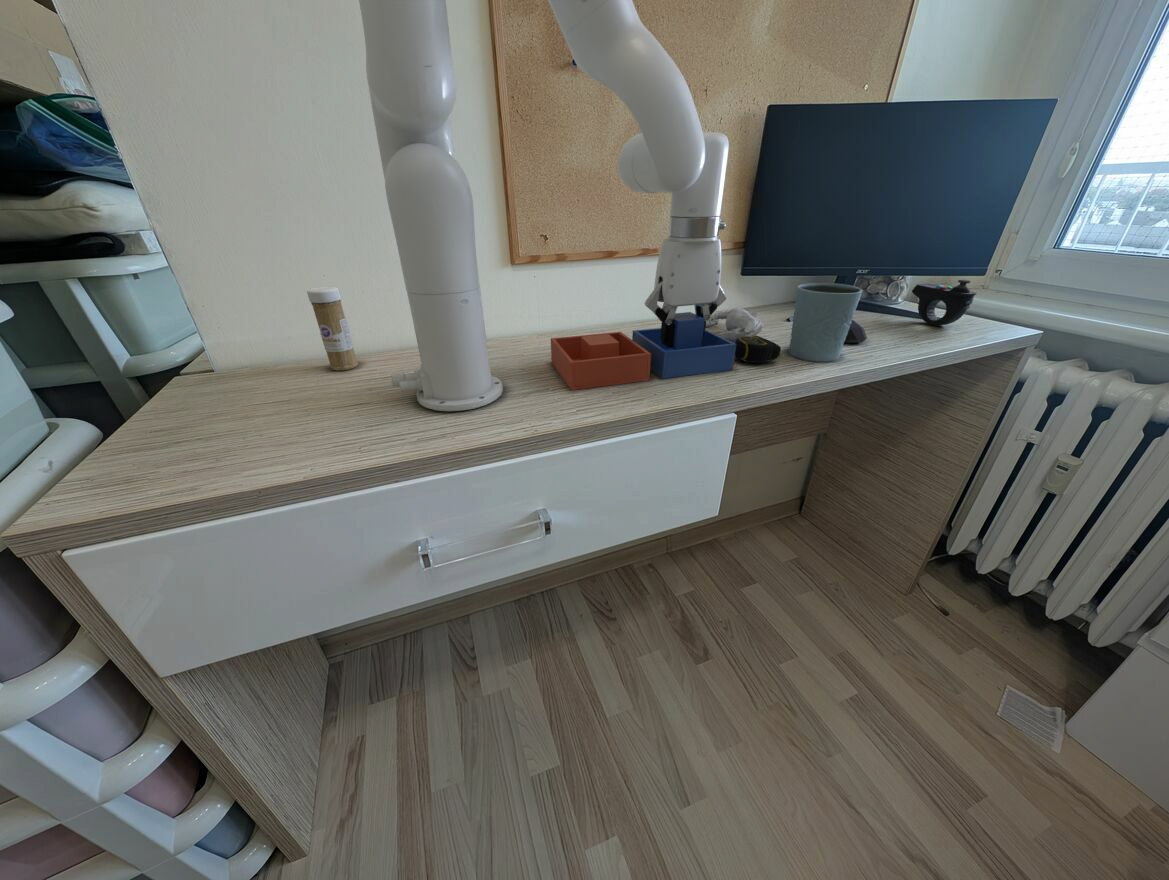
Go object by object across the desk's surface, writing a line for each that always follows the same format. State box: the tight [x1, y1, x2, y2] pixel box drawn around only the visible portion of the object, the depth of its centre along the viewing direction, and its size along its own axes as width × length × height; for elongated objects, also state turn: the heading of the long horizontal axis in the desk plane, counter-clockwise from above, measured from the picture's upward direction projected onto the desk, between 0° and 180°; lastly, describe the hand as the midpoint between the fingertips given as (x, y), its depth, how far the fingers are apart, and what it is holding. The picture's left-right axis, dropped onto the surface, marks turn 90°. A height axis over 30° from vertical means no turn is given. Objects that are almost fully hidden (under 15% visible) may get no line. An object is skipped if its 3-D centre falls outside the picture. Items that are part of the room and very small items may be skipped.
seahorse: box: [706, 307, 764, 343], centre depth 92 cm, size 5×12×20 cm
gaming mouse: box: [844, 319, 868, 344], centre depth 91 cm, size 6×15×4 cm, turn 17°
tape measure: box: [734, 335, 782, 364], centre depth 78 cm, size 7×7×4 cm
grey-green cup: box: [788, 282, 863, 363], centre depth 78 cm, size 10×10×12 cm
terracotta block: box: [581, 334, 619, 360], centre depth 73 cm, size 5×5×5 cm
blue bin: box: [631, 327, 736, 380], centre depth 77 cm, size 13×13×4 cm
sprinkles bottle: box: [306, 285, 359, 371], centre depth 74 cm, size 5×5×13 cm
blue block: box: [671, 311, 705, 350], centre depth 76 cm, size 5×5×5 cm
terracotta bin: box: [550, 331, 651, 391], centre depth 73 cm, size 13×13×4 cm
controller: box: [911, 279, 978, 327], centre depth 97 cm, size 4×12×10 cm, turn 17°
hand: (681, 342), depth 77 cm, fingers closed on blue block, 5 cm apart
